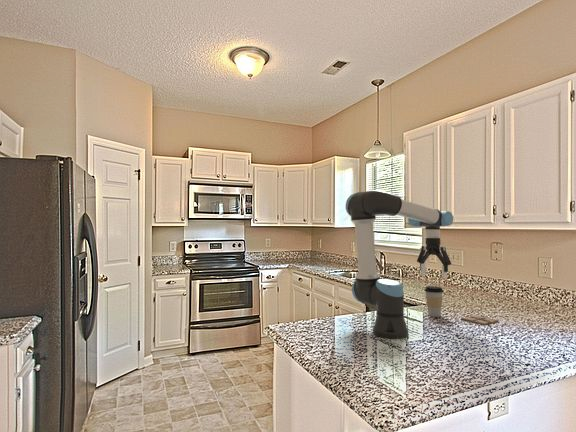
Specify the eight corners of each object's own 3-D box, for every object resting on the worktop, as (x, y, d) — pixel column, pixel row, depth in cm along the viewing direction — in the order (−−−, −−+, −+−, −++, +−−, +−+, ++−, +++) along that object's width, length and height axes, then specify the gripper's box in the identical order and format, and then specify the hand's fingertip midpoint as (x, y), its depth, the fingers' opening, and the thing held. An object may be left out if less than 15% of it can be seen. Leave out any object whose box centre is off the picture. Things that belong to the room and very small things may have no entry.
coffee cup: (441, 318, 183) (440, 289, 183) (422, 315, 188) (422, 287, 189) (445, 314, 190) (445, 287, 191) (427, 312, 196) (427, 285, 196)
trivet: (483, 325, 169) (483, 322, 169) (461, 319, 180) (461, 317, 180) (498, 321, 175) (498, 319, 175) (475, 316, 186) (475, 314, 186)
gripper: (458, 237, 182) (459, 279, 181) (419, 237, 204) (419, 273, 203) (448, 238, 178) (449, 280, 177) (410, 237, 200) (410, 274, 199)
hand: (433, 276), depth 190 cm, fingers open, 13 cm apart
